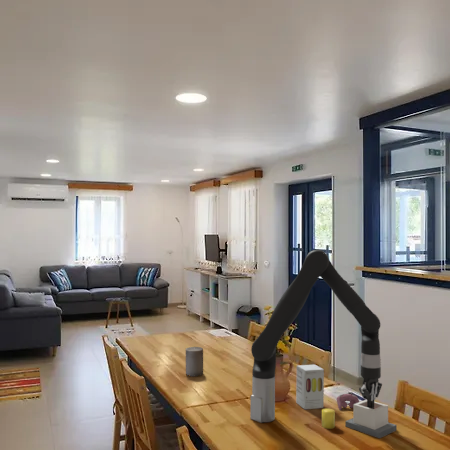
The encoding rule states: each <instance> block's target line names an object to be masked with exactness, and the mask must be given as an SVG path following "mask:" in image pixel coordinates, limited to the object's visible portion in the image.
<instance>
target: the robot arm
mask: <svg viewBox="0 0 450 450" xmlns="http://www.w3.org/2000/svg"><path fill="white" fill-rule="evenodd" d="M319 278H321V279H322V280H323V281H324V282H325V283H326V284H327V285H328V287H329V288H330V289H331V290H332V293H334V295H335V296H336V298H337V299H338V300H339V301H340V303H341V304H342V305H343V306H344V307H345V309H346V310H347V311H348V312H349V313H350V314H351V315H352V316H353V317H354V319H355V320H356V321H357V323H358V324H359V325H360V333H361V342H360V343H361V346H360V350H361V355H360V377H362V378H363V379H362V386H361V387H359V389H358V390H359V393H360V394H361V397H362V398H363V399H364V400H367V407H368V408H371V409H374V402H375V401H376V399H377V398H378V397H379V394H380V392H381V389H382V386H383V383H382V382H379V381H380V380H379V379H381V377H382V375H381V374H382V367H381V366H382V364H381V363H382V362H381V360H382V359H381V347H380V346H381V344H380V339H379V337H380V336H379V335H380V334H379V331H380V328H381V320H380V318H379V317H378V315H376V314H375V312H373V311H372V310H371V309H370V308H369V307H368V306H367V305H366V303H365V301H364V300H363V298H361V296H360V295H359V294H358V293H357V292H356V291H355V289H354V288H353V287H351V285H349V283H348V282H347V281H346V280H345V279H344V278H343V277H342V276H341V275H340V273H339V272H338V270H336V268H335V267H334V265H333V264H332V262H331V260H330V259H329V256H328V254H327V253H326V252H325V251H323V250H321V249H313V250H311V251H310V252H308V253H307V255H306V257H305V258H304V261H303V263H302V266H301V267H300V270H299V272H298V273H297V276H296V277H295V278H294V280H293V281H292V282H291V283H290V285H289V286H288V287H287V289H286V290H285V291H284V292H283V294H282V296H281V297H280V299H279V300H278V302H277V304H276V305H275V307H274V310H273V312H272V314H271V315H270V318H269V320H268V322H267V324H266V325H265V328H264V329H263V330H262V331H261V333H260V334H259V336H258V337H256V339H255V340H254V341H253V343H252V345H251V356H252V357H253V364H252V365H253V367H252V375H251V376H252V379H251V380H252V382H251V383H252V384H251V385H252V391H251V393H252V394H251V395H250V417H249V418H250V419H251V420H253V421H256V422H258V423H260V424H262V423H271V422H273V421H275V418H276V417H275V416H276V415H275V414H276V413H275V410H276V406H275V405H276V401H275V399H276V397H275V396H276V390H275V389H276V387H275V386H276V367H277V364H276V363H277V345H278V344H279V342H280V340H281V338H282V336H283V335H284V333H285V332H286V331H287V330H288V329H289V327H290V326H291V325H292V324H293V322H294V321H295V319H297V317H298V315H299V313H300V312H301V310H302V309H303V307H304V305H305V304H306V301H307V299H308V298H309V295H310V292H311V290H312V289H313V287H314V285H315V284H316V283H317V281H318V279H319Z"/></svg>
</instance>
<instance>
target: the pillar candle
mask: <svg viewBox="0 0 450 450" xmlns="http://www.w3.org/2000/svg"><path fill="white" fill-rule="evenodd" d="M186 374H187V375H186ZM202 374H203V375H204V348H203V347H199V346H190V347H187V348H185V375H186V376H188V375H190V376H189V377H199V376H198V375H200V376H203V375H202Z"/></svg>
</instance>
